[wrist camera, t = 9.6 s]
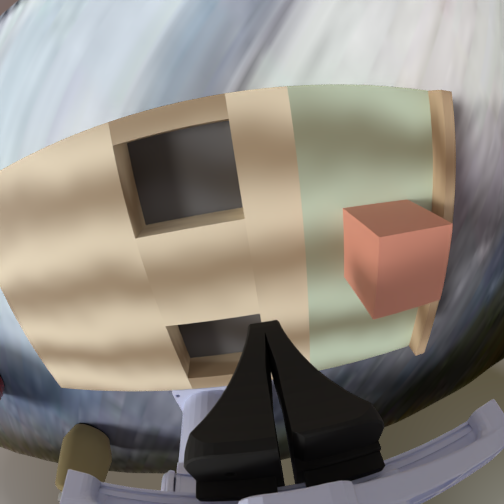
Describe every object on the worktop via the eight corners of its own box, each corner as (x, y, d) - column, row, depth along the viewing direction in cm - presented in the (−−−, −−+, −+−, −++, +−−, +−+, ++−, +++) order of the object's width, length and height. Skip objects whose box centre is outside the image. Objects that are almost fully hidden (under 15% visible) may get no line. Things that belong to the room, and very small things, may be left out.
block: (403, 264, 19) (440, 299, 15) (344, 276, 19) (373, 319, 15) (407, 199, 17) (452, 223, 13) (342, 208, 17) (379, 237, 13)
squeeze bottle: (82, 440, 33) (61, 525, 17) (60, 414, 30) (29, 508, 14) (123, 448, 34) (108, 541, 17) (104, 423, 30) (79, 530, 14)
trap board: (403, 324, 26) (424, 352, 22) (70, 369, 26) (56, 397, 22) (414, 93, 17) (451, 91, 13) (-12, 182, 16) (-44, 195, 12)
